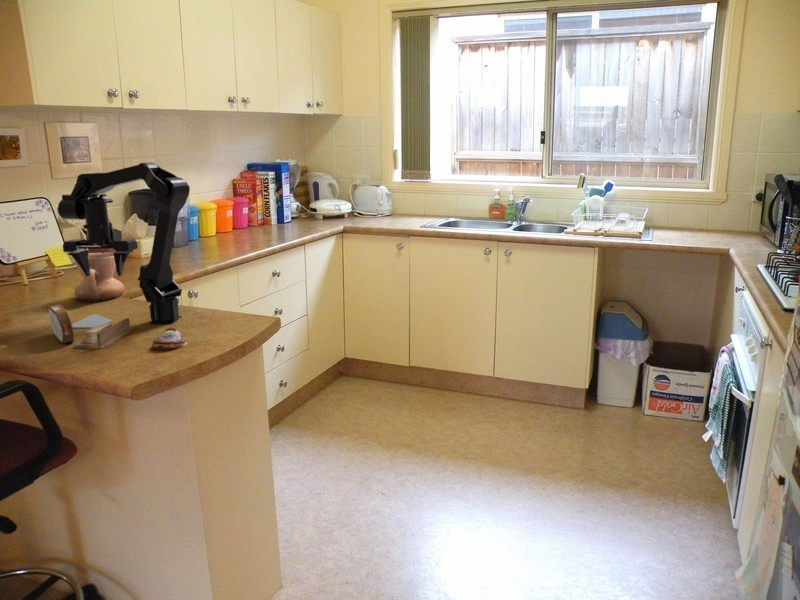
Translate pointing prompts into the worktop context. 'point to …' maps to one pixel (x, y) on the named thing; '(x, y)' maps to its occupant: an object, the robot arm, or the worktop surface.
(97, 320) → the slate mat
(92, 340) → the offcut lower
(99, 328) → the offcut upper
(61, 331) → the tin
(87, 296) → the ceramic jug
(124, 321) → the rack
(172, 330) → the pastry
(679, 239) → the worktop surface
